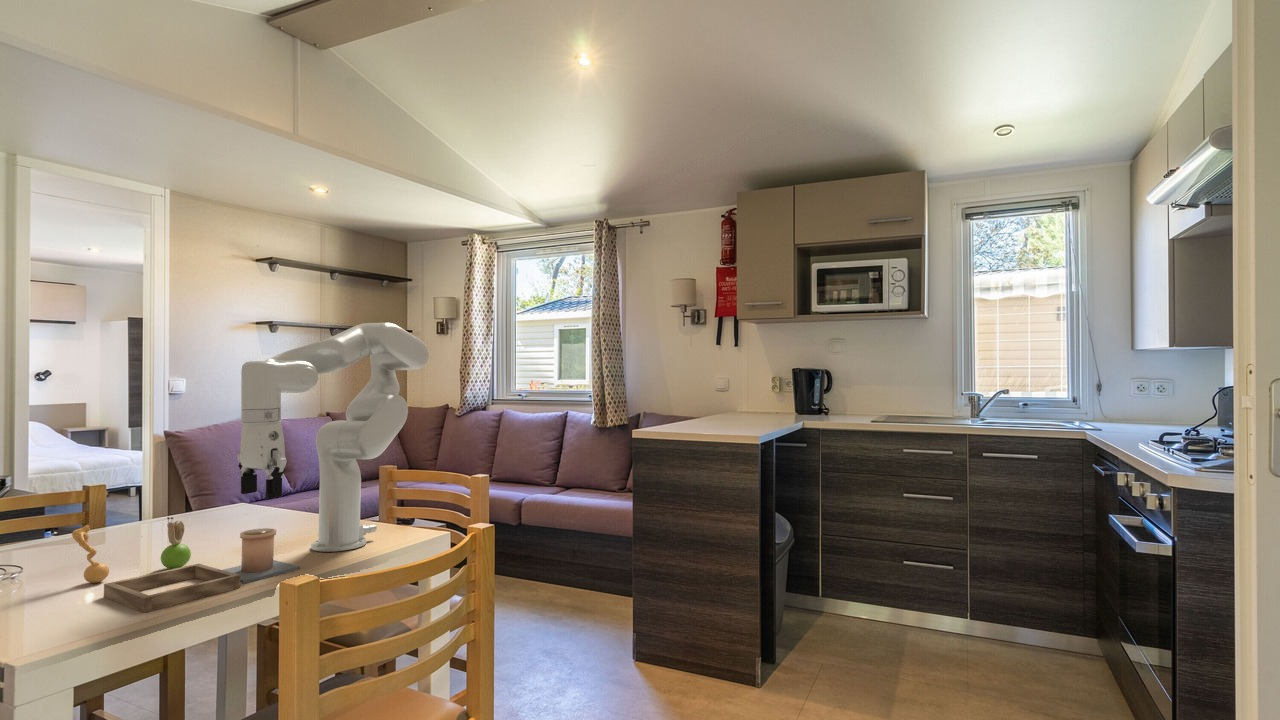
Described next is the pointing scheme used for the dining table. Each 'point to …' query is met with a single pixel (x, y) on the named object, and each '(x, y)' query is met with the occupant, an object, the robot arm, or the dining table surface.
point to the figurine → (95, 570)
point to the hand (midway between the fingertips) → (261, 495)
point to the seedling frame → (130, 596)
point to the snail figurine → (175, 547)
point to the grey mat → (276, 570)
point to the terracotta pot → (257, 550)
